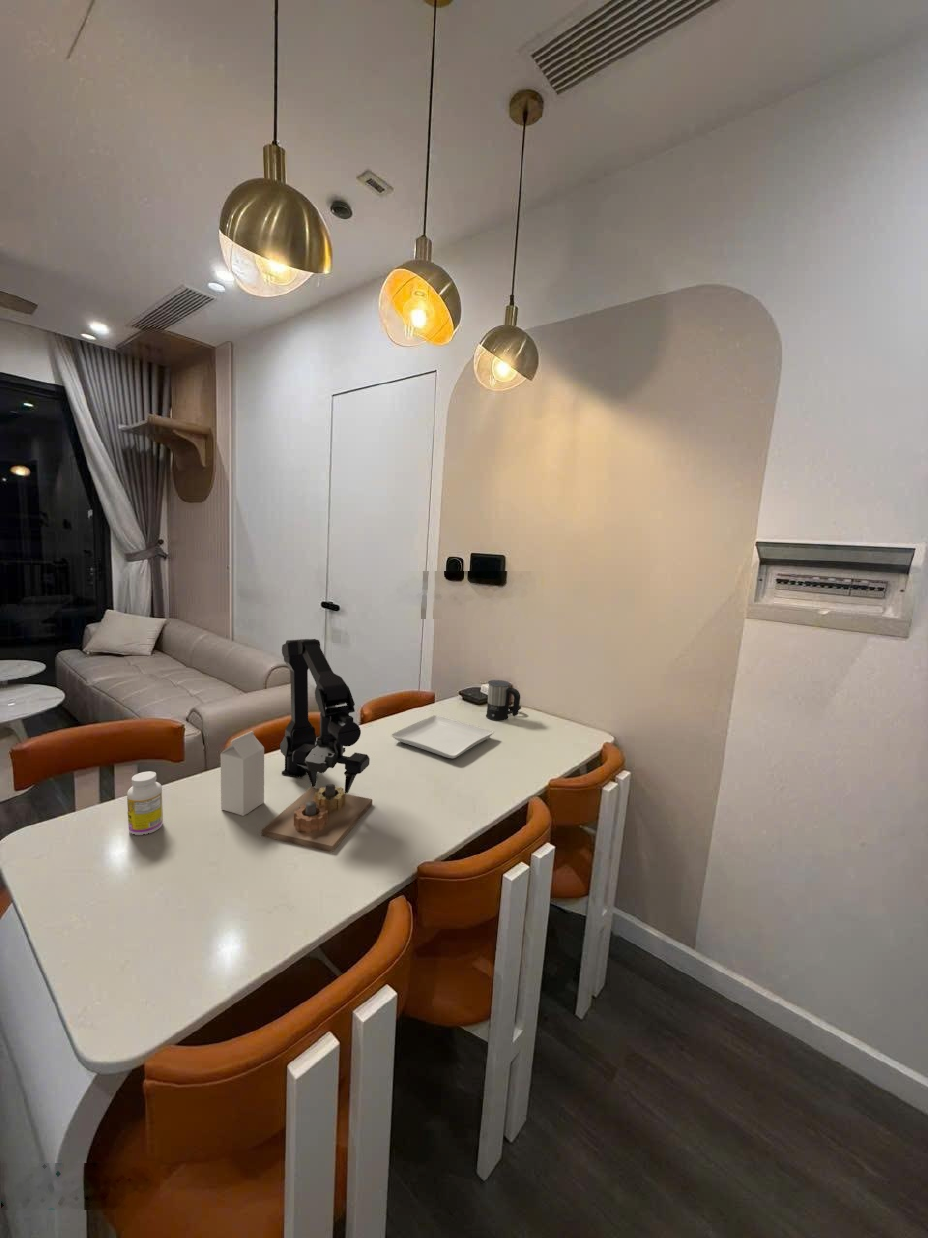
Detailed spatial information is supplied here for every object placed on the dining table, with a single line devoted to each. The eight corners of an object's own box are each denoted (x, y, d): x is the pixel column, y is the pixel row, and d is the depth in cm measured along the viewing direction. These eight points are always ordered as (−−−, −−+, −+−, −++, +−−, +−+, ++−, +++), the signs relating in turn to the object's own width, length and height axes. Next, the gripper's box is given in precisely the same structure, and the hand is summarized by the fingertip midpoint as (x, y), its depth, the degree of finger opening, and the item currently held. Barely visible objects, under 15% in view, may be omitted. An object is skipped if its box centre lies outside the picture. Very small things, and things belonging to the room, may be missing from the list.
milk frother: (484, 719, 194) (486, 684, 192) (488, 707, 210) (491, 674, 207) (519, 724, 192) (522, 688, 190) (521, 711, 207) (524, 678, 205)
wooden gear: (309, 808, 120) (309, 797, 119) (324, 794, 127) (324, 783, 127) (336, 814, 118) (336, 803, 118) (350, 799, 125) (350, 789, 125)
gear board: (261, 835, 110) (261, 809, 109) (311, 792, 131) (311, 769, 130) (332, 852, 106) (333, 825, 105) (372, 804, 127) (373, 781, 126)
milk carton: (264, 803, 124) (264, 733, 121) (243, 817, 117) (243, 743, 114) (242, 796, 126) (242, 728, 123) (220, 810, 120) (219, 737, 117)
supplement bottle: (132, 822, 112) (130, 770, 110) (165, 818, 115) (164, 767, 113) (125, 839, 106) (122, 784, 104) (159, 834, 109) (158, 781, 107)
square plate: (494, 740, 175) (495, 730, 174) (453, 767, 152) (454, 755, 151) (434, 722, 189) (435, 712, 188) (388, 743, 166) (389, 733, 165)
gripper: (279, 737, 114) (278, 798, 116) (351, 750, 110) (348, 813, 112) (305, 721, 125) (304, 777, 127) (371, 732, 120) (369, 790, 123)
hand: (330, 789), depth 122 cm, fingers open, 9 cm apart
